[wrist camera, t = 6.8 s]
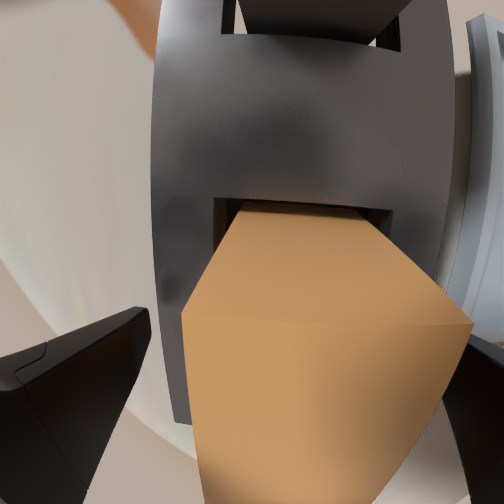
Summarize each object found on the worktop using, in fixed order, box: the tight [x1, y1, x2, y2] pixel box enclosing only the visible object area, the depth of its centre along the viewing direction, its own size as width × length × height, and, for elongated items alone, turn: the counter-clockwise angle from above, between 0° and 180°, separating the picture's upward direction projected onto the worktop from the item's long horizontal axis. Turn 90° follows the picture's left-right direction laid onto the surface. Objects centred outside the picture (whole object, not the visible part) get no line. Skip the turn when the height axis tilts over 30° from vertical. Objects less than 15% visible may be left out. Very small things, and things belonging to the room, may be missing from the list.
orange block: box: [181, 201, 474, 504], centre depth 8 cm, size 6×4×8 cm, turn 177°
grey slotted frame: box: [151, 0, 455, 425], centre depth 9 cm, size 24×9×2 cm, turn 178°
